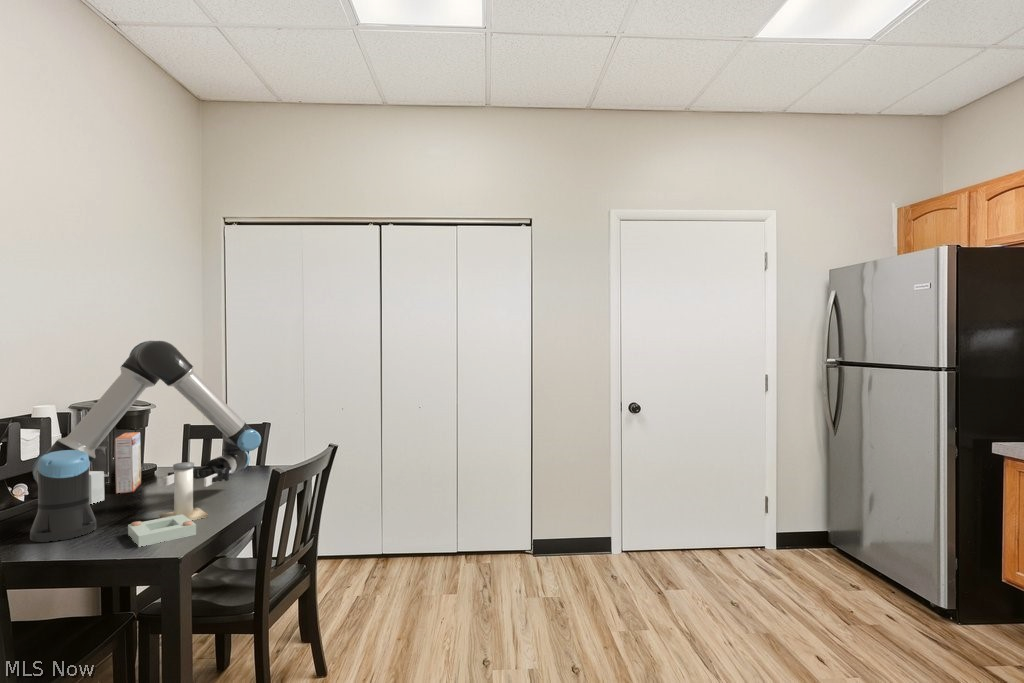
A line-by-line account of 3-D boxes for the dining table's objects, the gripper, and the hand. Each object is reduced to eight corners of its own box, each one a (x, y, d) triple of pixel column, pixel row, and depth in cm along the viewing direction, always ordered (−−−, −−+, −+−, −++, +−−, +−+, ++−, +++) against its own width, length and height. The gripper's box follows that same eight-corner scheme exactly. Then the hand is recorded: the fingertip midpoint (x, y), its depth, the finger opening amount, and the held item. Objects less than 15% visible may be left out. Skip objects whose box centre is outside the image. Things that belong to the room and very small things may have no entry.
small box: (104, 500, 197) (104, 471, 197) (91, 505, 191) (91, 474, 191) (84, 500, 198) (84, 470, 198) (70, 504, 192) (70, 474, 192)
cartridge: (175, 518, 172) (175, 466, 173) (170, 514, 177) (170, 464, 177) (196, 514, 177) (196, 464, 177) (191, 510, 181) (191, 461, 181)
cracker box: (123, 485, 218) (123, 432, 218) (141, 484, 220) (141, 431, 221) (114, 494, 205) (114, 437, 205) (133, 492, 208) (133, 436, 208)
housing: (138, 547, 150) (138, 534, 150) (128, 535, 160) (128, 522, 160) (196, 534, 160) (196, 522, 160) (182, 523, 170) (182, 512, 170)
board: (168, 525, 169) (168, 522, 169) (159, 517, 177) (159, 514, 177) (207, 517, 176) (207, 514, 176) (197, 510, 184) (197, 507, 184)
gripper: (254, 478, 197) (222, 494, 176) (185, 478, 198) (145, 494, 176) (254, 457, 197) (222, 470, 176) (185, 457, 198) (145, 470, 176)
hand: (183, 482), depth 176 cm, fingers open, 13 cm apart
